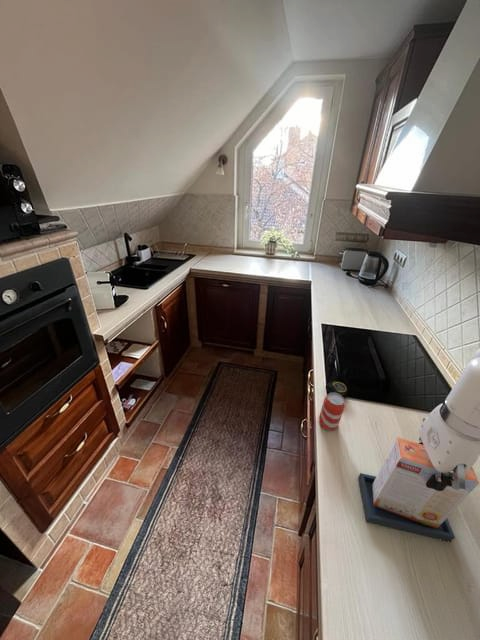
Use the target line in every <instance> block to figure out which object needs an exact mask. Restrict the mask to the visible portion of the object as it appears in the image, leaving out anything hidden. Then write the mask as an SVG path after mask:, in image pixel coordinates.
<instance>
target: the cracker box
mask: <svg viewBox="0 0 480 640" xmlns="http://www.w3.org/2000/svg"><path fill="white" fill-rule="evenodd" d="M436 472H437V470H436V469H435V467H434V466H433V464H432V462H431V460H430V458H429V456H428V454H427V452H426V449H425V447H424V445H421V444H419V442H414V441H411V440H408V439H405V438H402V437H399V436H397V437H396V438H395V440H394V442H393V444H392V446H391V448H390V449H389V452H388V454H387V455H386V457H385V460H384V461H383V463H382V465H381V467H380V469H379V471H378V473H377V475H376V479H375V480H374V482H373V484H372V489H373V503H374V506H375V507H378V508H380V509H383V510H386V511H388V512H391V513H394V514H396V515H399V516H402V517H405V518H407V519H410V520H413V521H415V522H418V523H421V524H423V525H426V526H429V527H431V528H434V529H437V528H438V527H439V526H440V525H441V524H442V523H443V522H444V521H445V520H446V518H447V519H448V518H449V516H451V514H452V513H453V512H454V511H455V510H456V509H457V507H459V506H460V505H461V503H463V501H464V500H465V499H466V498H467V497H468V496H469V495H470V494H471V492H472V491H473V490H475V488H476V487H477V486H478V485H479V484H480V481H479V479H478V476H477V474H476V472H475V469H474V468H473V467H472V468H471V469H470V470H469V471H468V472H467V473H466V474H465V484H466V491H465V492H463V491H458V490H455V489H454V488H452V487H450V486H447V487H446V488H445V489H444V490H443V491H436V490H434V489H431V488H427V486H426V483H427V481H428V480H429V479H430V477H431V476H432V475H433V474H434V475H436ZM443 475H445V476H448V475H449V472H447V473H444V474H443Z"/></svg>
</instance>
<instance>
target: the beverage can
mask: <svg viewBox="0 0 480 640" xmlns="http://www.w3.org/2000/svg"><path fill="white" fill-rule="evenodd" d="M345 407H346V405H345V397H344V398H343V397H342V396H341V395H340V394H337V393H329V392H328V394H327V395H326V396H325V397H324V399H323V402H322V406H321V409H320V413H319V417H318V423H319V424H320V425H321V427H322V428H324V429H326V430H328V431H333V430H336V429H337V428H338V427H339V425H340V422H341V419H342V417H343V413H344V411H345Z"/></svg>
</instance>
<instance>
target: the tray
mask: <svg viewBox="0 0 480 640" xmlns="http://www.w3.org/2000/svg"><path fill="white" fill-rule="evenodd" d="M376 477H377V475H376V476H375V475H371V474H367V473H361V472H360V473H359V475H358V477H357V481H358V486H359V491H360V496H361V502H362V507H363V512H364V513H363V514H364V517H365V518H364V519H365V522H366V523H369V524H374V525H376V526H377V525H378V526H382V527H385V528H389V529H394V530H397V531H402V532H405V533H410V534H415V535H419V536H423V537H427V538H430V537H431V538H430V539H435V538H436V539H435V540H439V539H441V540H440V541H443V540H445V541H444V542H447V541H449V542H448V543H452V541H454V540H455V539H456V536H455V534H454V531H453V529H452V527H451V524H450V522H449V520H448V517H447V518H446V520H445V521H444V522H443V523H442V524H441V525H440V526H439V527H438V528H437V529H434V528H431V527H429V526H426V525H423V524H421V523H418V522H415V521H413V520H410V519H407V518H405V517H402V516H399V515H396V514H394V513H391V512H388V511H386V510H383V509H380V508H378V507H375V506H374V503H373V489H372V484H373V482H374V480H375V479H376Z"/></svg>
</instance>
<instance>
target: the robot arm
mask: <svg viewBox="0 0 480 640" xmlns="http://www.w3.org/2000/svg"><path fill="white" fill-rule="evenodd" d="M418 434H419V437H418V444H421V445H424V447H425V449H426V452H427V454H428V456H429V458H430V460H431V462H432V464H433V466H434V467H435V469H436V470H437V472H436V475H434V474H433V475H432V476H431V477H430V479H429V480H428V481H427V483H426V486H427V488H431V489H434V490H436V491H443V490H444V489H445V488H446V487H447V486H450V487H452V488H454V489H455V490H458V491H463V492H465V491H466V484H465V474H466V473H467V472H468V471H469V470H470V469H471V468H473V466H474V465H475V464H476V462H477V460H478V459H479V457H480V347H479V348H478V349H477V350H476V351H475V353H474V355H473V359H471V360H470V361H469V362H468V363H467V364H466V367H464V370H463V371H462V372H461V374H460V375H459V377H458V379H457V381H456V382H455V384H454V385H453V387H452V389H451V390H450V392H449V393H448V395H447V397H446V398H445V400H444V401H443V403H440V404H439V405H437V406H436V407H435V408H433V410H431V412H430V413H428V415H427V416H426V417H425V418H424V417H423V418H422V423H421V425H420V427H419V428H418ZM447 472H449V475H448V476H445V475H443V474H444V473H447Z"/></svg>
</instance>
